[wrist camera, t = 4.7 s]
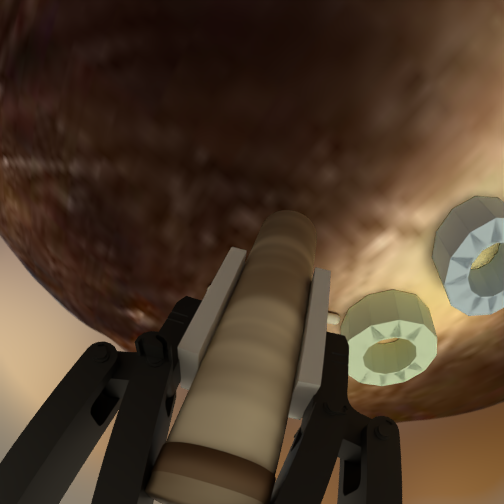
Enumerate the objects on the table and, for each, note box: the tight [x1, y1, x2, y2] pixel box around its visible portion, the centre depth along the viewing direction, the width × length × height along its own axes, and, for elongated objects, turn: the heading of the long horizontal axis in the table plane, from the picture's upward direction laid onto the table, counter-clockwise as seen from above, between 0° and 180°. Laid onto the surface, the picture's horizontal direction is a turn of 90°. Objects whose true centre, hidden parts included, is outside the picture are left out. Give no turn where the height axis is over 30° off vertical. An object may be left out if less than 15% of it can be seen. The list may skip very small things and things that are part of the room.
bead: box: [341, 290, 437, 386], centre depth 27 cm, size 9×9×4 cm
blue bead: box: [432, 196, 504, 316], centre depth 21 cm, size 9×9×4 cm
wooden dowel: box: [145, 210, 317, 504], centre depth 13 cm, size 4×4×16 cm
